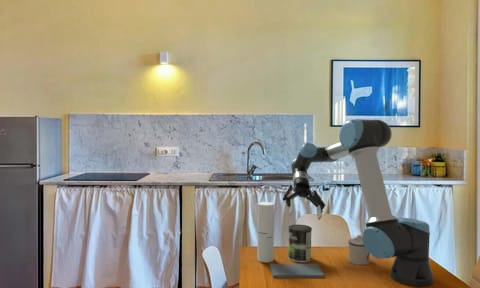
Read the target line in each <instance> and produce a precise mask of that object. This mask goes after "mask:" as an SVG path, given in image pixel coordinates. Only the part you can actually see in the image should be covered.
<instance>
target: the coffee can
mask: <svg viewBox="0 0 480 288" xmlns="http://www.w3.org/2000/svg"><path fill="white" fill-rule="evenodd" d="M312 229H313V228H312V227H311V226H310V225H305V224H292V225H289V226H288V251H287V252H288V255H287V256H288V257H287V259H289V261H292V262H295V263H307V262H310V261H312V231H313V230H312Z"/></svg>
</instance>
